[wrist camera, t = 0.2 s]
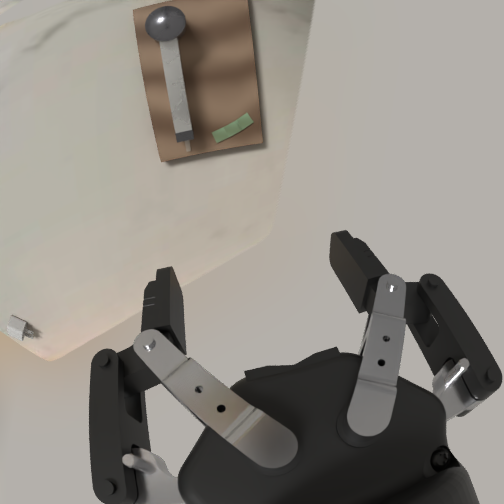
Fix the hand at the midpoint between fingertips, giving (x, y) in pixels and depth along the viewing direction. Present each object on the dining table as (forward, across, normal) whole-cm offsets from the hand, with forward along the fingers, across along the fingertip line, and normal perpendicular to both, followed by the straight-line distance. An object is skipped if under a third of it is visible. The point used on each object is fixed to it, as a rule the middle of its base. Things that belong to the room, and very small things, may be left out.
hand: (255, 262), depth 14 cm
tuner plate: (+28, 0, -8) cm, 29 cm away
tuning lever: (+27, +3, -9) cm, 28 cm away
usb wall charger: (+28, +54, +29) cm, 67 cm away
